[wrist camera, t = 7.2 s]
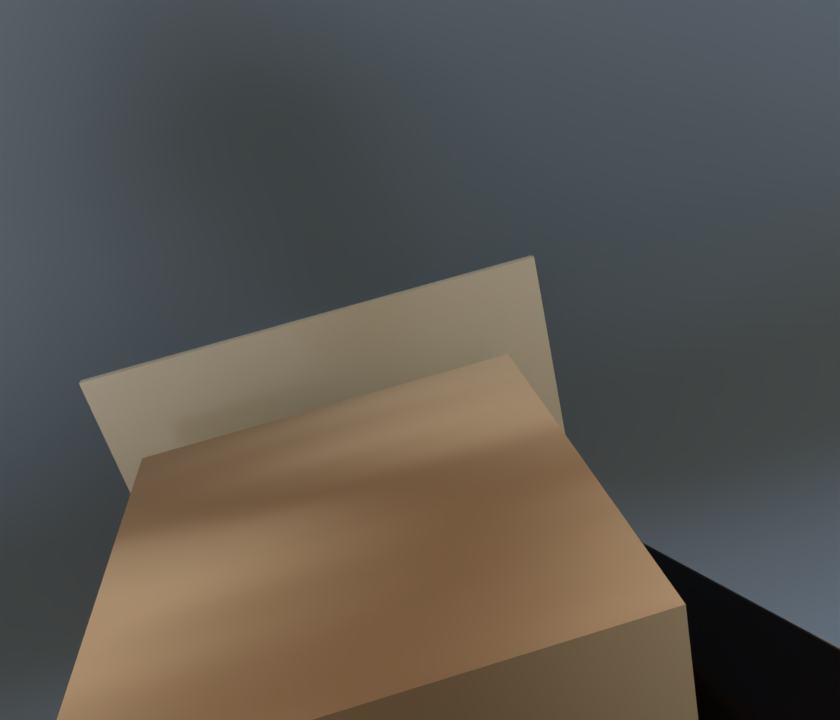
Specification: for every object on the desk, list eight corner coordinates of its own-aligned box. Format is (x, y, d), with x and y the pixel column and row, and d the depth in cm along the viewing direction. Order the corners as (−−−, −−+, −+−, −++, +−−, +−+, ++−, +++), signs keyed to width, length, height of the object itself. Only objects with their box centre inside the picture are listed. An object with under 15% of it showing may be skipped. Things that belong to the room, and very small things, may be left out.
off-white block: (260, 722, 11) (249, 1134, 7) (142, 458, 9) (26, 806, 5) (563, 629, 11) (726, 973, 7) (508, 354, 9) (685, 605, 5)
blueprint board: (70, 924, 15) (55, 988, 14) (-542, 65, 8) (-654, 70, 7) (838, 680, 16) (875, 724, 15) (835, -269, 9) (903, -305, 8)
